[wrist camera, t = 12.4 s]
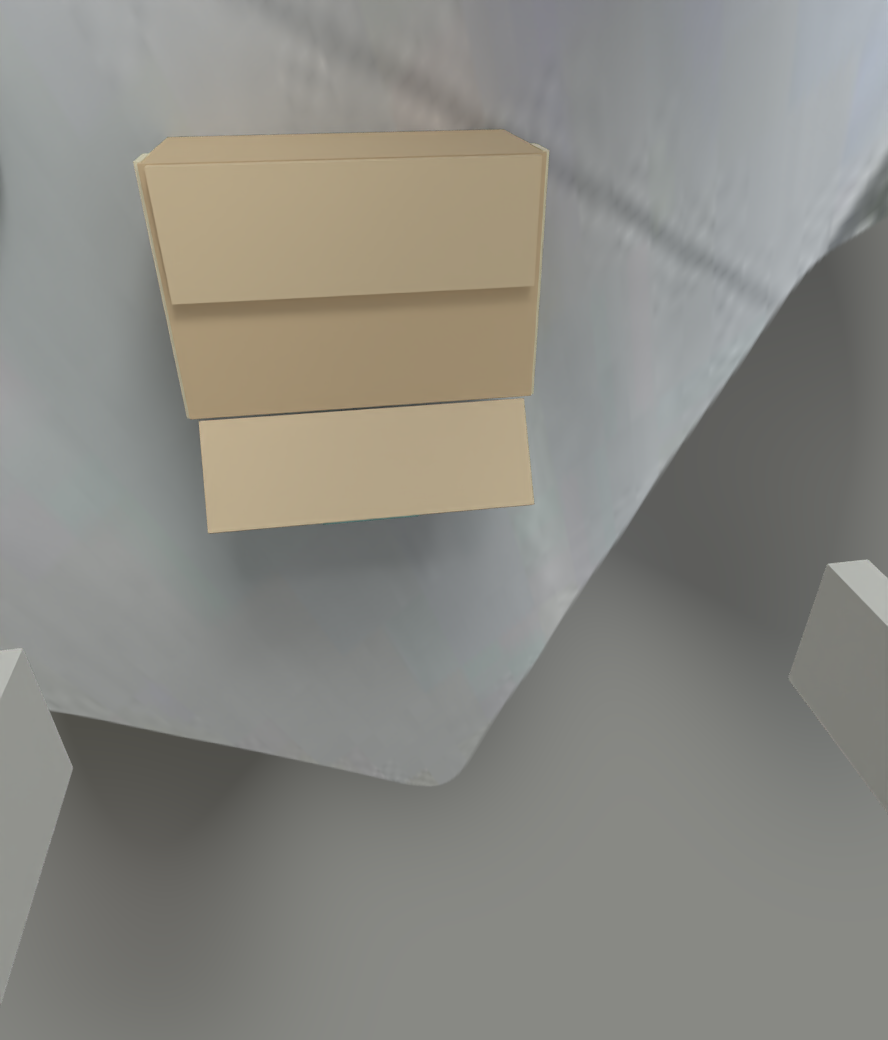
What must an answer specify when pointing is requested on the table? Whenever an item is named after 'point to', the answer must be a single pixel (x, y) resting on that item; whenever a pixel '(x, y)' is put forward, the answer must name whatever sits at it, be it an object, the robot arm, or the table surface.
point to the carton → (347, 267)
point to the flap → (364, 464)
